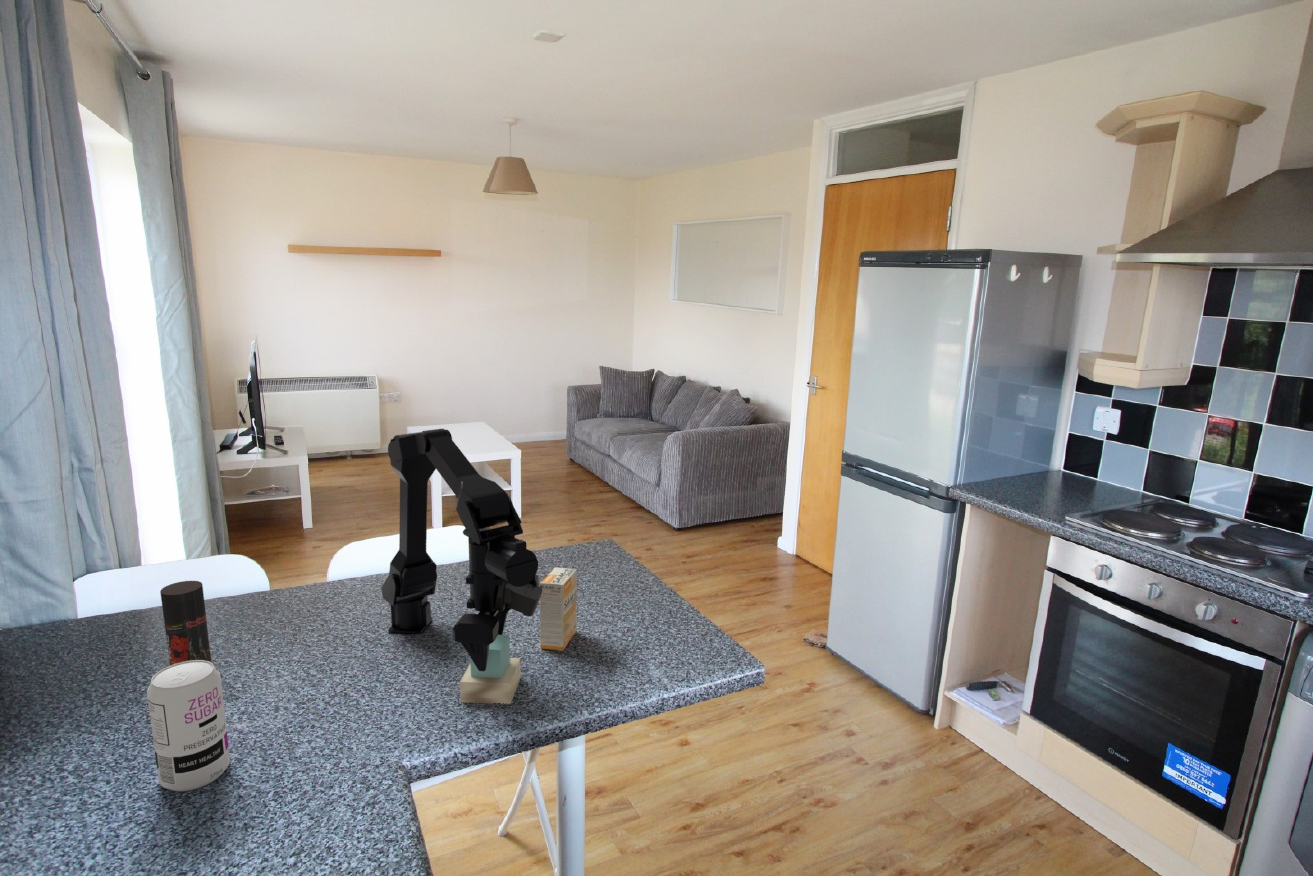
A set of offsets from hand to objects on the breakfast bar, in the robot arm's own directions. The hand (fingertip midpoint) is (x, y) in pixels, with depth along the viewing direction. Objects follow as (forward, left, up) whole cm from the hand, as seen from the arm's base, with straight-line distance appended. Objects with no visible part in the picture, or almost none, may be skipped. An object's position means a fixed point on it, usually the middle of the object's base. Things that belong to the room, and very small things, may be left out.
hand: (490, 656), depth 119 cm
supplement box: (+8, +18, -6) cm, 21 cm away
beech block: (0, 0, -6) cm, 6 cm away
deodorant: (-53, +2, -6) cm, 53 cm away
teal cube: (0, 0, -2) cm, 2 cm away
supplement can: (-34, -24, -6) cm, 42 cm away
